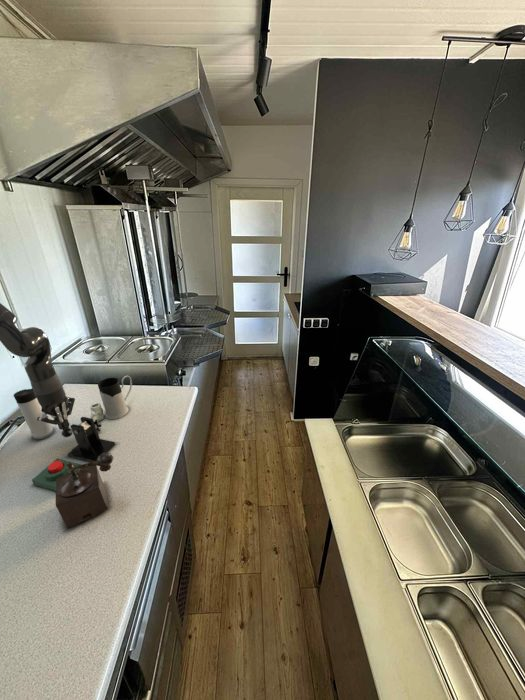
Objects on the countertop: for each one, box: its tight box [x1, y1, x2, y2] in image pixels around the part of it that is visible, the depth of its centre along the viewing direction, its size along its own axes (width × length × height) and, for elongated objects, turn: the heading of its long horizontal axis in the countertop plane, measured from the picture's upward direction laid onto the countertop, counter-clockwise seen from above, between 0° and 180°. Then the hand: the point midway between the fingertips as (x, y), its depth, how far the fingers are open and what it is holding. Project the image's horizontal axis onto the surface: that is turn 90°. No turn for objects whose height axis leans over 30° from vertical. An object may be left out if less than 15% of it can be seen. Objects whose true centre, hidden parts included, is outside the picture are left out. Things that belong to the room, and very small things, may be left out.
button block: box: [31, 457, 82, 492], centre depth 91 cm, size 11×9×4 cm
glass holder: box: [97, 375, 133, 420], centre depth 120 cm, size 9×14×15 cm, turn 151°
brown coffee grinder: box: [55, 452, 114, 529], centre depth 80 cm, size 16×11×18 cm
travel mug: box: [13, 388, 54, 440], centre depth 105 cm, size 6×7×20 cm
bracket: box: [67, 416, 116, 463], centre depth 99 cm, size 12×9×13 cm
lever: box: [61, 421, 90, 438], centre depth 99 cm, size 13×3×3 cm, turn 72°
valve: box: [89, 402, 105, 432], centre depth 113 cm, size 7×7×12 cm
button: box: [47, 460, 63, 474], centre depth 90 cm, size 4×4×2 cm
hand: (65, 428), depth 101 cm, fingers closed
